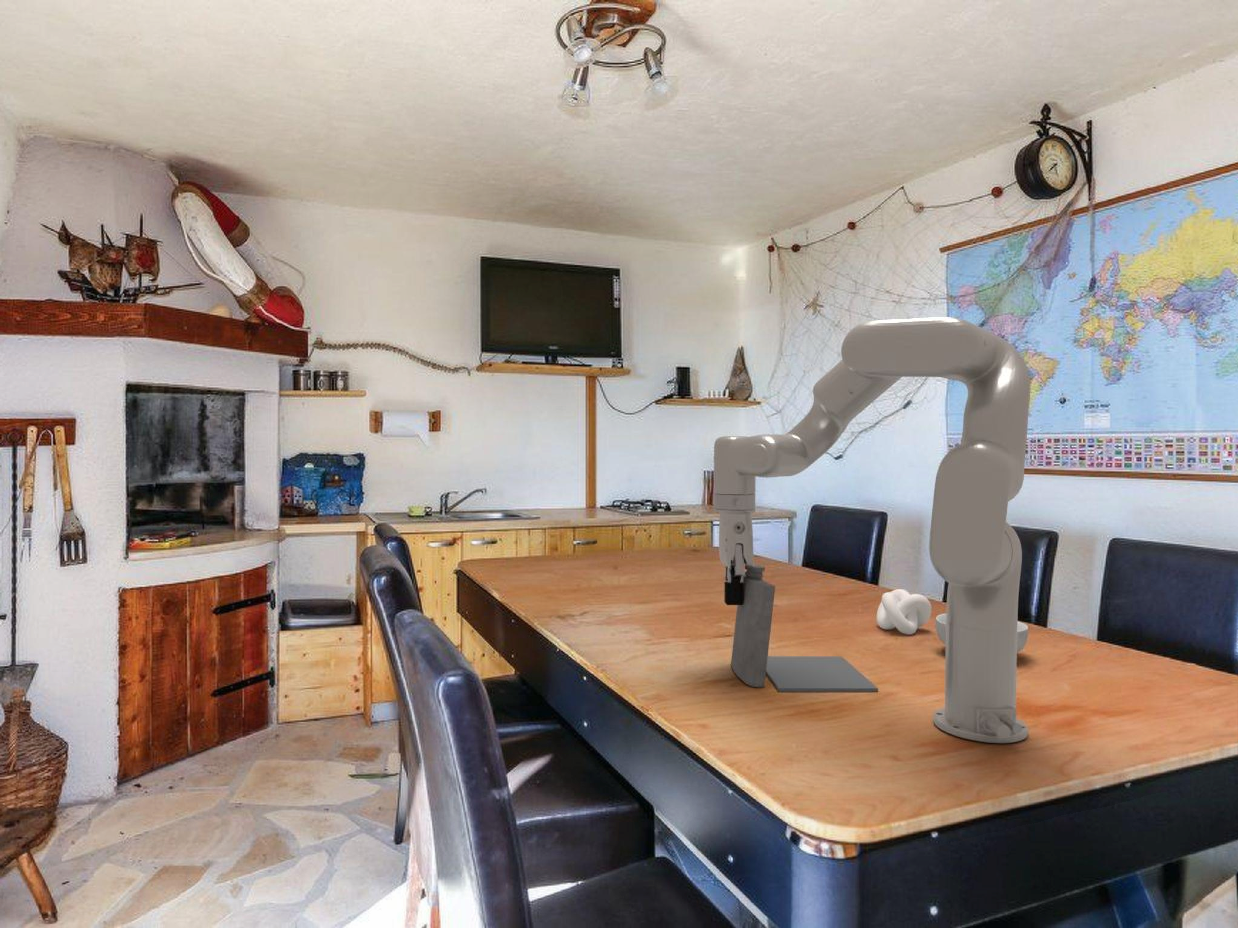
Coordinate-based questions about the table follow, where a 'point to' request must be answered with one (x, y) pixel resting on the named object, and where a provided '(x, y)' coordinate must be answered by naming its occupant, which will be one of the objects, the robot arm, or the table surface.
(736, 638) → the hip flask
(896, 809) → the table surface
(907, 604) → the white decorative knot
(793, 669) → the mat
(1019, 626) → the cereal bowl
